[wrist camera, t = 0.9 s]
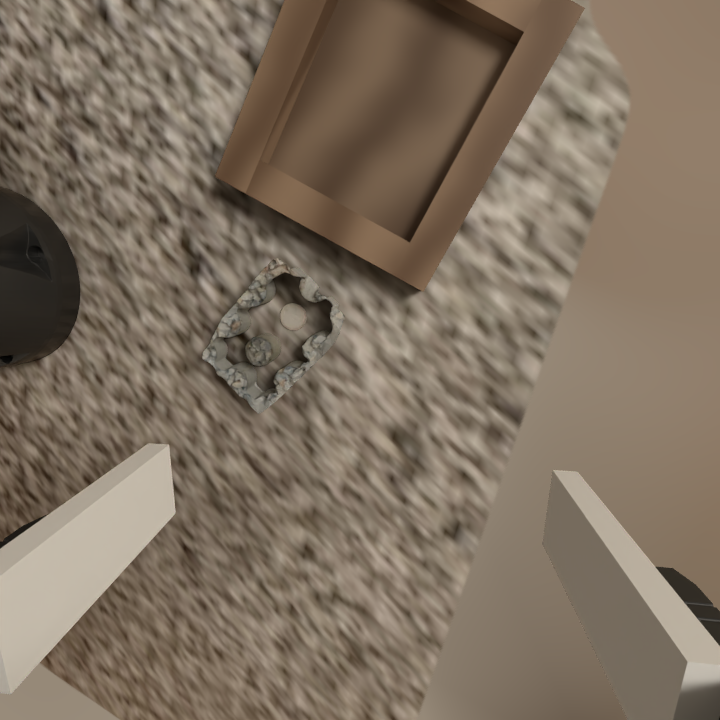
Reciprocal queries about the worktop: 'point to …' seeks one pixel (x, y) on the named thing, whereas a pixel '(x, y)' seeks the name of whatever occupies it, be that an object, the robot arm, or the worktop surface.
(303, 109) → the pocket board
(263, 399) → the egg carton
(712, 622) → the robot arm
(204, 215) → the worktop surface
